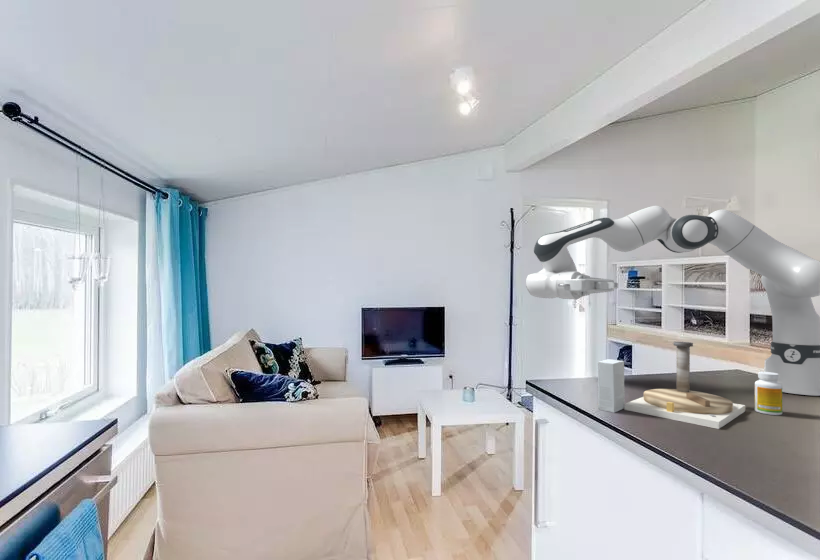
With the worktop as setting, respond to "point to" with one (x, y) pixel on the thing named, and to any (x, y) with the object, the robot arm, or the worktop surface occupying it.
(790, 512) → the worktop surface
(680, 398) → the dial
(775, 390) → the supplement bottle
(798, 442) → the worktop surface
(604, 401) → the skincare box
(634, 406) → the dial stand
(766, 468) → the worktop surface
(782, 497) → the worktop surface
